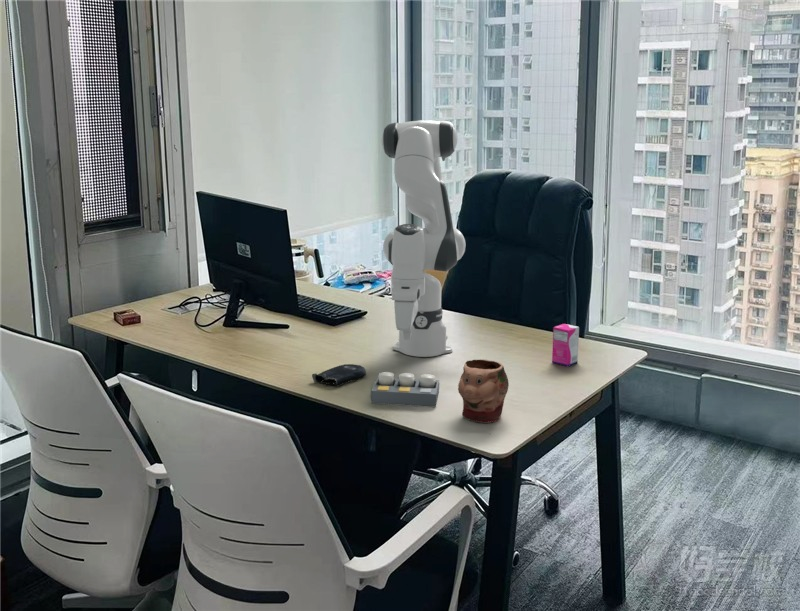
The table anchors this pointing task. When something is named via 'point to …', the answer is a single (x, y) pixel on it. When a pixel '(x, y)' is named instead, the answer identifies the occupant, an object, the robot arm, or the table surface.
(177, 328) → the table surface
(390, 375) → the end button
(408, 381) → the middle button
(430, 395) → the button panel
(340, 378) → the electronic device
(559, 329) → the supplement box
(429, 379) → the button
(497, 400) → the character mug
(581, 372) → the table surface
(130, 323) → the table surface
